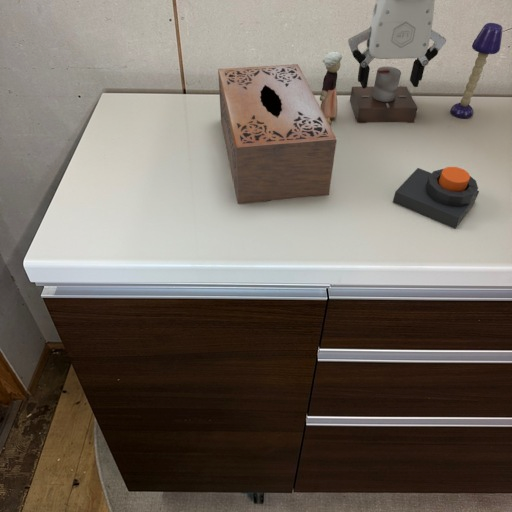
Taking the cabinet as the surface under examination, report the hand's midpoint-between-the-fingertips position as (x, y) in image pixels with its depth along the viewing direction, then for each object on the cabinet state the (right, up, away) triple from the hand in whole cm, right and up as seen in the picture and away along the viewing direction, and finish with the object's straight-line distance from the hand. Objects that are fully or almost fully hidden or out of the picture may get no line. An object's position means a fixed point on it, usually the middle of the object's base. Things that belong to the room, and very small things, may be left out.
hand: (388, 84), depth 90 cm
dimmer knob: (0, -2, +2) cm, 2 cm away
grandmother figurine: (-11, -6, +2) cm, 13 cm away
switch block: (+2, -24, -17) cm, 29 cm away
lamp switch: (+4, -22, -19) cm, 29 cm away
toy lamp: (+15, -5, +3) cm, 16 cm away
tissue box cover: (-23, -15, -7) cm, 28 cm away
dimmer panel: (0, -4, +4) cm, 6 cm away
